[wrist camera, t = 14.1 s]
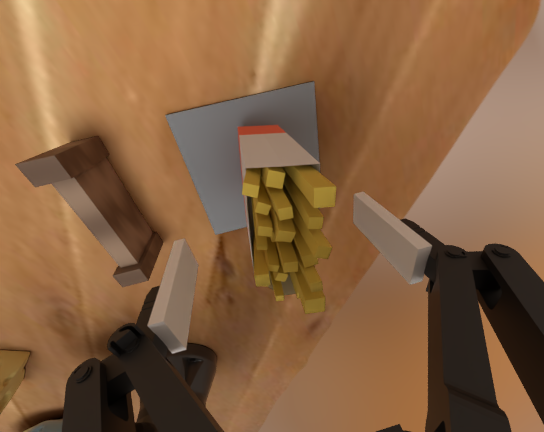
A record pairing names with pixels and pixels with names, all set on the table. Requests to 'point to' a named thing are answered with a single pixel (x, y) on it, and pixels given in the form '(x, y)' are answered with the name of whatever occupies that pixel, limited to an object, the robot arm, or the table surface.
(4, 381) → the cheese
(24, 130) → the table surface
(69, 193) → the walnut fence
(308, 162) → the french fries container
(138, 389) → the robot arm
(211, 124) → the slate mat
